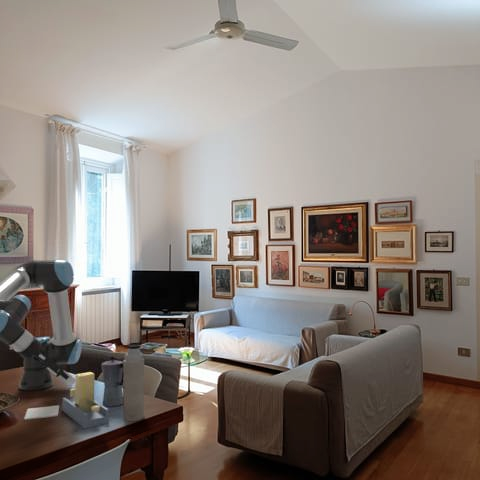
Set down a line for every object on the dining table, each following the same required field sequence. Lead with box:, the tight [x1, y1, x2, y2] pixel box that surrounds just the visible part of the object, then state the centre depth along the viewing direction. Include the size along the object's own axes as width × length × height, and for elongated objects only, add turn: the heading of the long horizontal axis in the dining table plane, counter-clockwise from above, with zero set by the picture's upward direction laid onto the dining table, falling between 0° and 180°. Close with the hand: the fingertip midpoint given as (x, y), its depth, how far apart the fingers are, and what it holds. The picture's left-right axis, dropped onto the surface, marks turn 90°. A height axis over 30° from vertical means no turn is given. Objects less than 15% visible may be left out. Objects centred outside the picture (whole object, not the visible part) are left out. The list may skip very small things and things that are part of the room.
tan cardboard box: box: [74, 371, 95, 412], centre depth 171 cm, size 4×6×14 cm, turn 130°
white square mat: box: [23, 405, 60, 421], centre depth 174 cm, size 12×12×1 cm
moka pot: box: [100, 356, 123, 407], centre depth 185 cm, size 10×15×20 cm, turn 55°
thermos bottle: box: [122, 344, 145, 422], centre depth 170 cm, size 8×8×28 cm
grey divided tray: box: [62, 387, 110, 429], centre depth 171 cm, size 25×9×8 cm, turn 40°
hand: (67, 379), depth 166 cm, fingers open, 13 cm apart
